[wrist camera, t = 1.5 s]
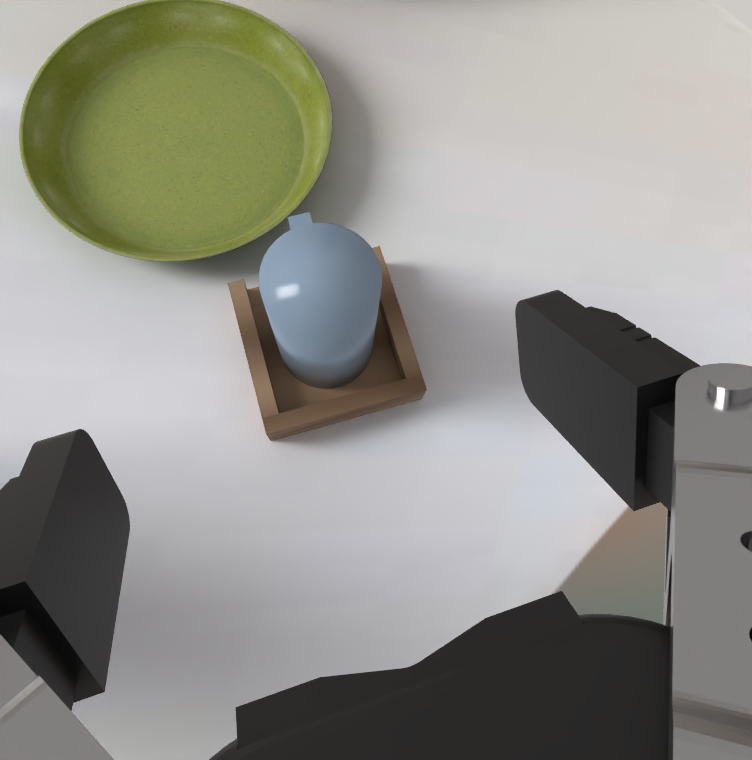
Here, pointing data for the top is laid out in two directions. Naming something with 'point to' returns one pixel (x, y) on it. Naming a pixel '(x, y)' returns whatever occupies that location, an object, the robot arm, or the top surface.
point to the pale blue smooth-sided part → (321, 300)
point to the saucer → (175, 129)
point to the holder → (327, 406)
